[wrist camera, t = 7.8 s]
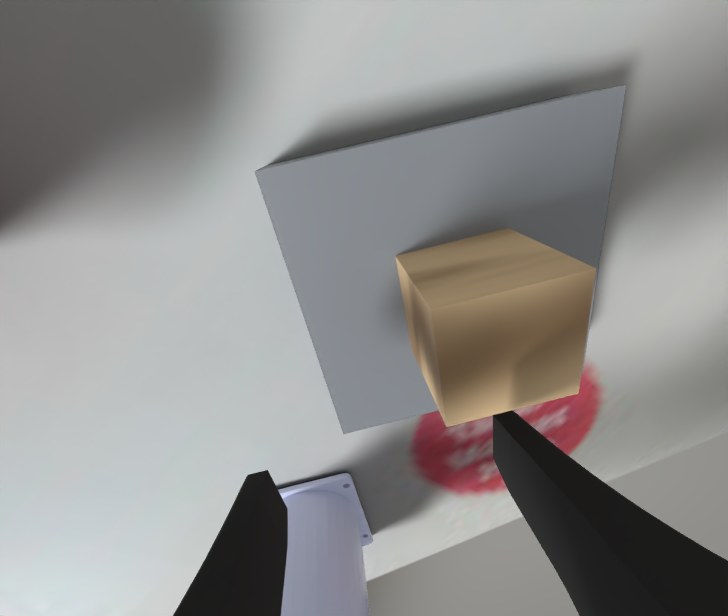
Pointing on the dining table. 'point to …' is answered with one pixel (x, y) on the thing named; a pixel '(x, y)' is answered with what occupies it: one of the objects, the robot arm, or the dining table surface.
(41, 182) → the dining table surface
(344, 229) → the slate base
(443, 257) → the oak cube
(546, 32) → the dining table surface
